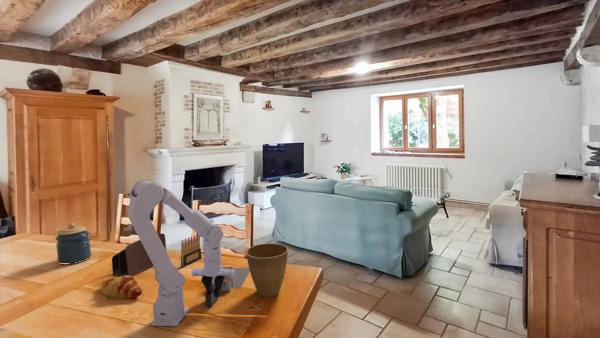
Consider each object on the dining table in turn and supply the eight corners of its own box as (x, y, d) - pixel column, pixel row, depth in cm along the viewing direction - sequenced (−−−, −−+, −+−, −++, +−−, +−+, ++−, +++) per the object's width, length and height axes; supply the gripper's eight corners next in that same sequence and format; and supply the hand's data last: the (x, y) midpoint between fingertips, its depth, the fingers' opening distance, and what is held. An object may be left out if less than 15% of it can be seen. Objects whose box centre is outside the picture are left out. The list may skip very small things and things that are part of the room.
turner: (220, 308, 105) (219, 294, 104) (197, 308, 105) (196, 293, 105) (231, 291, 116) (230, 278, 116) (210, 290, 117) (209, 277, 117)
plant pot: (296, 288, 118) (295, 246, 116) (273, 307, 105) (272, 261, 103) (264, 279, 125) (263, 240, 123) (238, 296, 112) (237, 253, 111)
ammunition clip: (184, 267, 139) (182, 240, 137) (180, 266, 139) (179, 240, 138) (201, 258, 148) (200, 233, 147) (198, 257, 149) (197, 233, 148)
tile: (233, 284, 120) (232, 266, 120) (215, 284, 121) (214, 266, 120) (234, 282, 122) (233, 265, 121) (216, 282, 122) (215, 265, 122)
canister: (96, 257, 152) (93, 221, 150) (65, 267, 141) (61, 228, 139) (83, 252, 158) (80, 218, 156) (52, 261, 148) (48, 224, 146)
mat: (240, 289, 117) (240, 288, 117) (203, 288, 119) (203, 287, 119) (251, 269, 135) (251, 267, 135) (219, 268, 136) (219, 267, 136)
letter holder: (167, 260, 147) (165, 231, 145) (128, 278, 129) (125, 245, 127) (152, 257, 151) (149, 228, 149) (112, 274, 133) (109, 242, 131)
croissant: (96, 300, 119) (84, 286, 115) (117, 278, 127) (106, 264, 123) (135, 311, 110) (123, 296, 106) (155, 286, 118) (145, 272, 114)
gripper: (236, 254, 112) (238, 290, 114) (196, 253, 114) (198, 289, 115) (230, 262, 105) (232, 301, 107) (188, 261, 107) (190, 299, 108)
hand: (214, 295), depth 110 cm, fingers closed on turner
